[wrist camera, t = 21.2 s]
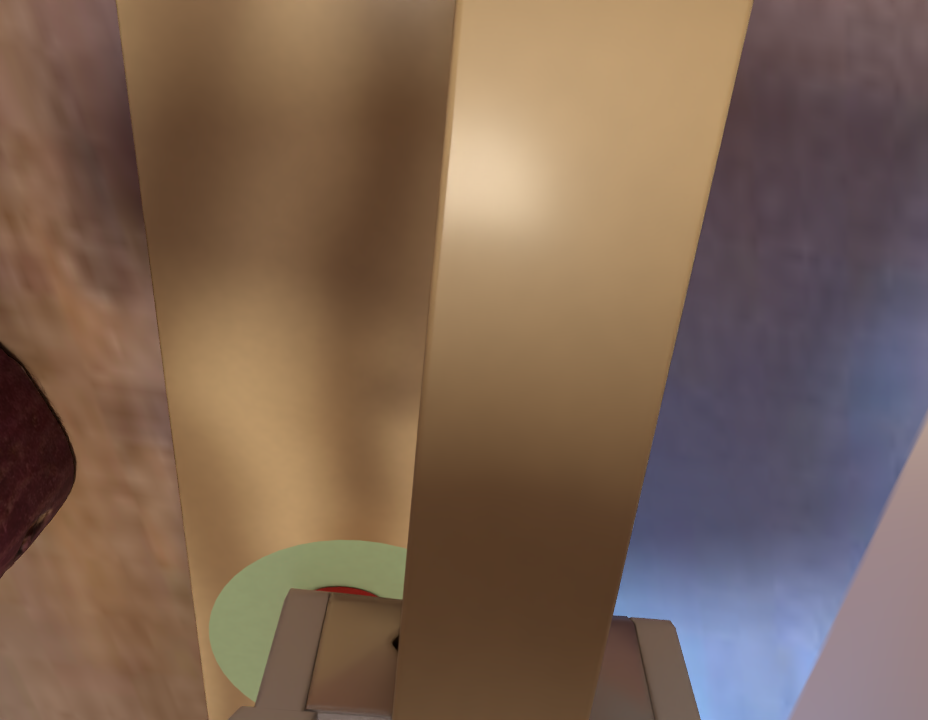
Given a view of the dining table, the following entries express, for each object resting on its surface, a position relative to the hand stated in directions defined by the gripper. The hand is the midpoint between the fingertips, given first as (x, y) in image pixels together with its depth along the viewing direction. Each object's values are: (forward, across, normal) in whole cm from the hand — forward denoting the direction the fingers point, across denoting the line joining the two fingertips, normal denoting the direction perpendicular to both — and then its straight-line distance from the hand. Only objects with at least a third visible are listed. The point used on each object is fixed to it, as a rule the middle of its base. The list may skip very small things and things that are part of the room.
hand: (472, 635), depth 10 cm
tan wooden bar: (+1, 0, 0) cm, 1 cm away
